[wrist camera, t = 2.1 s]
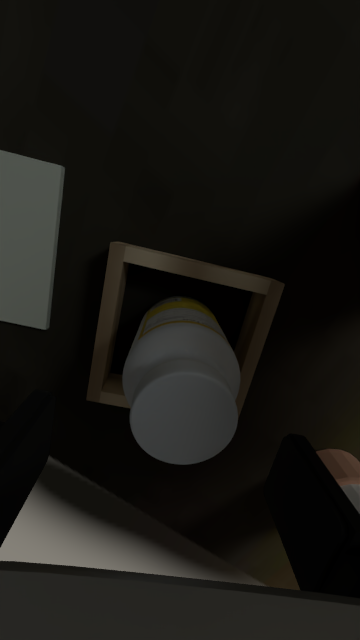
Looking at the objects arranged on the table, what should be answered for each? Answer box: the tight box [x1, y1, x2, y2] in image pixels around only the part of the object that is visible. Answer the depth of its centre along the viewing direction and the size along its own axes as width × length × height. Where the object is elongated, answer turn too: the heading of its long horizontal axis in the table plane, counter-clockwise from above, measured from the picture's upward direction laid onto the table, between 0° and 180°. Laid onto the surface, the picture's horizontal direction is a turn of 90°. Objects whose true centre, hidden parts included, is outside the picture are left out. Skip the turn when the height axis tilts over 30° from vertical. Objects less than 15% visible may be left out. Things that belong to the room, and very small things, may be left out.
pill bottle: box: [122, 296, 240, 465], centre depth 17 cm, size 6×6×12 cm
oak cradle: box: [86, 242, 285, 418], centre depth 21 cm, size 12×12×3 cm
